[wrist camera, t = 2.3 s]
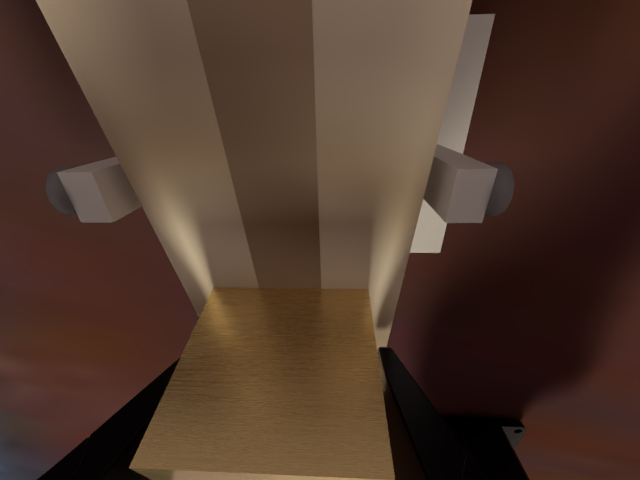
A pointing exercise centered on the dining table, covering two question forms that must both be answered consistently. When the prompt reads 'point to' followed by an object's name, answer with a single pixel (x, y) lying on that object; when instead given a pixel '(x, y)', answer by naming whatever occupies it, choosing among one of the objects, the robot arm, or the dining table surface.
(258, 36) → the beam
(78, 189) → the pivot stand
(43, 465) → the dining table surface
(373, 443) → the wooden block
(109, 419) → the robot arm
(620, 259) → the dining table surface
